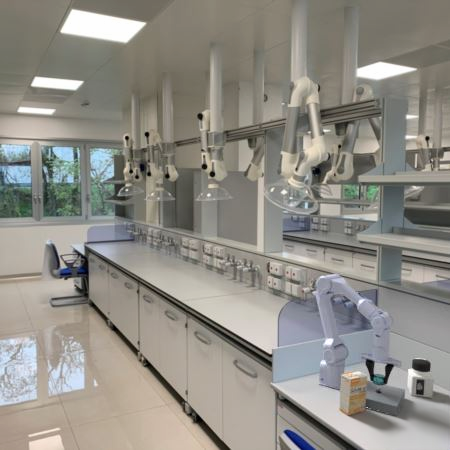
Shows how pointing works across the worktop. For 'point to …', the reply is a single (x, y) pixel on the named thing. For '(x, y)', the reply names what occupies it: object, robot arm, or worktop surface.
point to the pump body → (384, 398)
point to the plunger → (378, 381)
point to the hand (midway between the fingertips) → (378, 381)
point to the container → (420, 378)
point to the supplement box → (353, 392)
